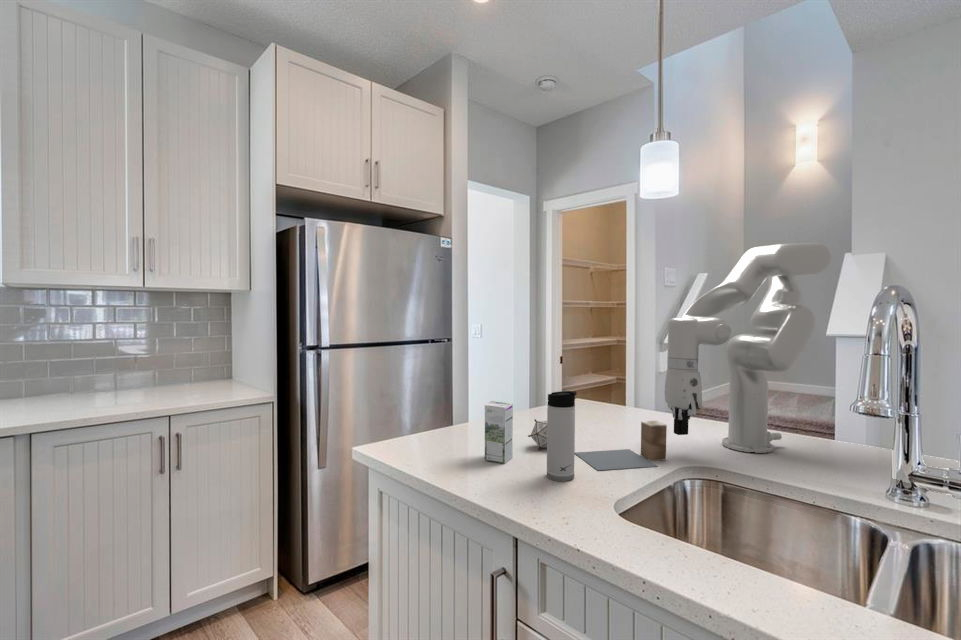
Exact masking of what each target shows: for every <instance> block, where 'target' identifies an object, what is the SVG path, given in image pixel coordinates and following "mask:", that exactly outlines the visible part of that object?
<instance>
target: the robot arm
mask: <svg viewBox="0 0 961 640" xmlns="http://www.w3.org/2000/svg"><path fill="white" fill-rule="evenodd" d="M831 261H832V255H831V251H830V249H829V248H828V247H827V246H826V245H825V244H822V243H821V242H803V243H802V242H801V243H799V242H797V243H775V244H770V245H769V244H768V245H761V246H754V247H752V248H749V249H748V250H747V251H745V252H744V253H743V255H742V256H741V257H740V258H739V260H737V263H736V264H735V265H734V266H733V267H732V269H731V270H730V271H729V273H728V274H727V276H726V277H725V278H724V279H723V281H722V282H721V283H719V285H717V286H715V287H713V288H712V289H710V290H709V291H707V292H706V293H704V294H703V295H701V296H700V297H698V298H697V299H695V300H694V301H693V303H691V304H690V305H689V306H688V308H687V309H686V310H685V312H684V313H683V314H682V316H681V317H673V318H670V319H669V320H668V322H667V323H668V325H667V333H668V334H667V362H666V363H667V364H666V375H665V381H664V384H665V385H664V402H665V403H666V404H667V407H668V409H670V410H671V411H672V413H671V414H672V418H673V434H675V435H676V436H683V435H689V421H690V420H691V416H697V410H701V409H702V407H703V390H702V389H703V388H702V387H703V386H702V379H701V374H700V371H699V346H700V345H702V346H711V347H713V346H714V347H716V346H721V345H724V344H725V343H727V341H728V343H727V344H726V348H725V349H726V350H725V353H726V360H727V365H728V371H729V390H728V391H729V392H728V393H729V394H728V396H729V398H728V429H727V430H728V434H727V437H724V438H722V441H721V444H722V445H723V446H724V447H726V448H727V449H730V448H731V450H734V451H737V452H738V451H739V452H743V451H744V453H750V452H755V453H754V454H767V452H768V453H771V452H774V445H773V444H772V443H771V442H772V441H778V440H779V441H780V440H782V439H783V437H782V436H783V435H782V434H781V433H780V432H772V433H771V432H770V431H768V419H769V416H768V414H769V412H768V410H769V383H768V379H767V376H766V374H765V372H772V373H785V372H787V371H788V370H790V369H791V368H792V367H794V365H795V363H796V362H797V360H798V359H799V357H800V356H801V354H802V352H803V351H804V350H805V347H806V345H807V344H808V342H809V341H810V339H811V338H812V335H813V333H814V331H815V327H816V317H815V313H814V312H813V310H812V309H811V308H810V307H808V306H807V305H804V304H800V302H801V299H802V293H801V289H800V287H799V285H798V283H797V281H796V279H795V277H794V276H807V275H818V274H821V273H823V272H825V271H826V270H827V269H828V268H829V266H830V264H831ZM766 280H768V289H767V291H766V293H765V295H764V296H763V297H762V299H761V300H760V302H759V304H758V306H757V307H756V308H755V310H754V312H753V313H752V315H751V318H750V320H749V329H750V330H751V332H752V333H742V334H741V333H740V334H737V335H735V336H732V338H731V333H732V329H731V326H730V324H729V323H728V322H727V321H726V320H724V319H723V318H720V317H716V316H717V315H719V314H721V313H723V312H726V311H728V310H732V309H735V308H738V307H740V306H743V305H746V304H747V303H749V302H750V301H751V300H752V299H753V297H754V296H755V295H756V293H757V291H758V290H759V289H760V287H762V285H763V284H764V282H765V281H766ZM729 339H730V340H729Z"/></svg>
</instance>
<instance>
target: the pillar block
mask: <svg viewBox="0 0 961 640" xmlns="http://www.w3.org/2000/svg"><path fill="white" fill-rule="evenodd" d="M640 423H641V424H640V425H641V426H640V427H641V429H640V456H641V455H642V457H644V458H645V459H647V460H648V459H649V461H650V462H652V461H662V459H665V460H667V431H668V430H667V429H668V428H667V427H668V426H667V424H665V423H663V422H661V421H659V420H644V421H643V420H642V421H641V422H640Z"/></svg>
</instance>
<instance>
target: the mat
mask: <svg viewBox="0 0 961 640" xmlns="http://www.w3.org/2000/svg"><path fill="white" fill-rule="evenodd" d="M574 455H576V456H577V457H578V456H579V457H578V458H580V459H581V460H582V459H583V460H582V461H584V462H585V463H586V464H587V465H589V466H590V467H591V468H593V469H594V470H595V469H596V470H595V471H597V472H602V471H603V472H604V470H605V471H615V470H616V471H617V469H619V470H631V469H632V468H633V469H644V468H657V467H659V465H657V464H656V463H653V462H652V461H650V460H648V459H647V458H645V457H643V456H641V454H638V453H636V452H635V451H633V450H631V449H629V448H626V449H624V448H623V449H611V450H610V449H608V450H595V451H577V452H575V454H574ZM629 468H630V469H629Z"/></svg>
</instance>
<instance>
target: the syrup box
mask: <svg viewBox="0 0 961 640" xmlns="http://www.w3.org/2000/svg"><path fill="white" fill-rule="evenodd" d="M513 405H514V404H513V402H508V401H507V402H505V401H497V400H496V401H495V400H493V401H489V402H487V403H486V404H484V461H485V460H486V462H491V461H492V463H497V462H498V463H499V464H506V463H508V462H509V461H510V460H512V459H513V453H514V452H513V436H514V435H513V430H514V429H513V428H514V427H513V425H514V422H513V419H514V416H513V415H514V406H513Z"/></svg>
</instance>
